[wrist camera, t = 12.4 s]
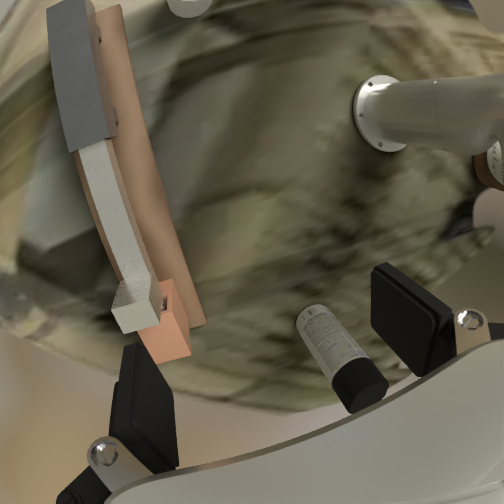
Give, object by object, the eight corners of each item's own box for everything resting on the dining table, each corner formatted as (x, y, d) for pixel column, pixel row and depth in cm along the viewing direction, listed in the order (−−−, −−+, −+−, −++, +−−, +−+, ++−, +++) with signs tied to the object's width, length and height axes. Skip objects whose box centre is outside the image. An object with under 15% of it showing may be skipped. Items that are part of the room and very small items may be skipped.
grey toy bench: (100, 16, 24) (84, -9, 17) (125, 136, 32) (109, 136, 24) (68, 29, 24) (46, 9, 16) (91, 149, 31) (69, 153, 24)
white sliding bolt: (109, 112, 27) (84, 104, 18) (178, 320, 38) (181, 366, 30) (76, 125, 26) (43, 123, 18) (151, 327, 37) (148, 374, 29)
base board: (121, 8, 26) (119, 3, 24) (206, 318, 46) (207, 323, 44) (54, 35, 24) (50, 32, 23) (148, 334, 44) (147, 340, 43)
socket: (172, 278, 40) (171, 311, 33) (187, 317, 43) (191, 355, 35) (139, 288, 40) (132, 322, 32) (157, 326, 42) (155, 364, 35)
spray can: (291, 335, 51) (340, 420, 33) (299, 302, 49) (358, 386, 31) (323, 333, 53) (379, 410, 35) (333, 301, 50) (398, 376, 32)
